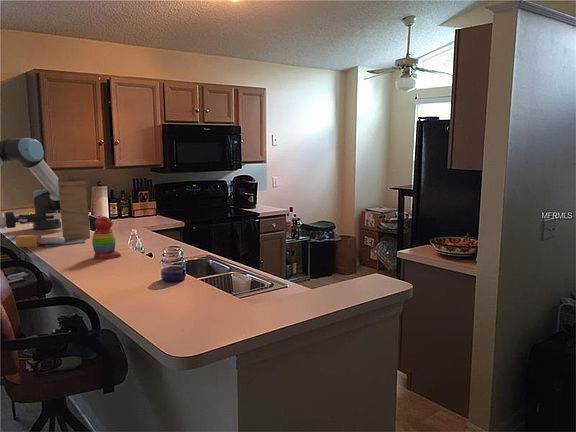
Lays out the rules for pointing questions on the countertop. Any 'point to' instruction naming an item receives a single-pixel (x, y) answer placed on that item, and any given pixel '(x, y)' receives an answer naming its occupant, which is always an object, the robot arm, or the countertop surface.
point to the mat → (67, 242)
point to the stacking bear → (104, 239)
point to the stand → (74, 208)
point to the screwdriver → (37, 240)
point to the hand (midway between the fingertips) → (60, 215)
